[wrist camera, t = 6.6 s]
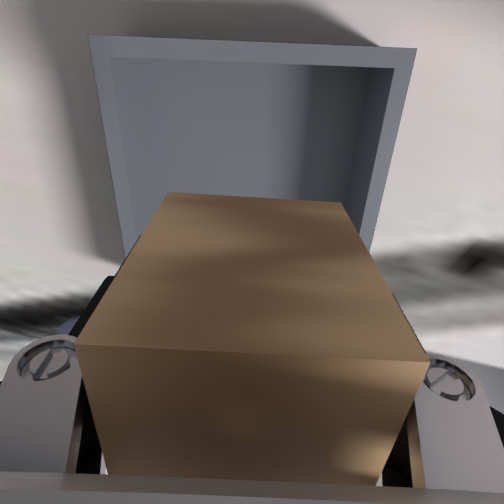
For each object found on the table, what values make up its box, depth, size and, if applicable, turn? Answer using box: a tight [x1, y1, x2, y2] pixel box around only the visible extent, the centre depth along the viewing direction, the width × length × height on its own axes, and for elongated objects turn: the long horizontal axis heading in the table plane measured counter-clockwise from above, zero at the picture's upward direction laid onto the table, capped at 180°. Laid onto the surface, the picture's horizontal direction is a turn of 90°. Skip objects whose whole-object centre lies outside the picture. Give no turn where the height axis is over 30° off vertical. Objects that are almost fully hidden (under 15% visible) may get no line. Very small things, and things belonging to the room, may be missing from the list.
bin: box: [88, 35, 417, 257], centre depth 27 cm, size 18×20×6 cm
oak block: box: [74, 192, 430, 486], centre depth 9 cm, size 5×5×6 cm
